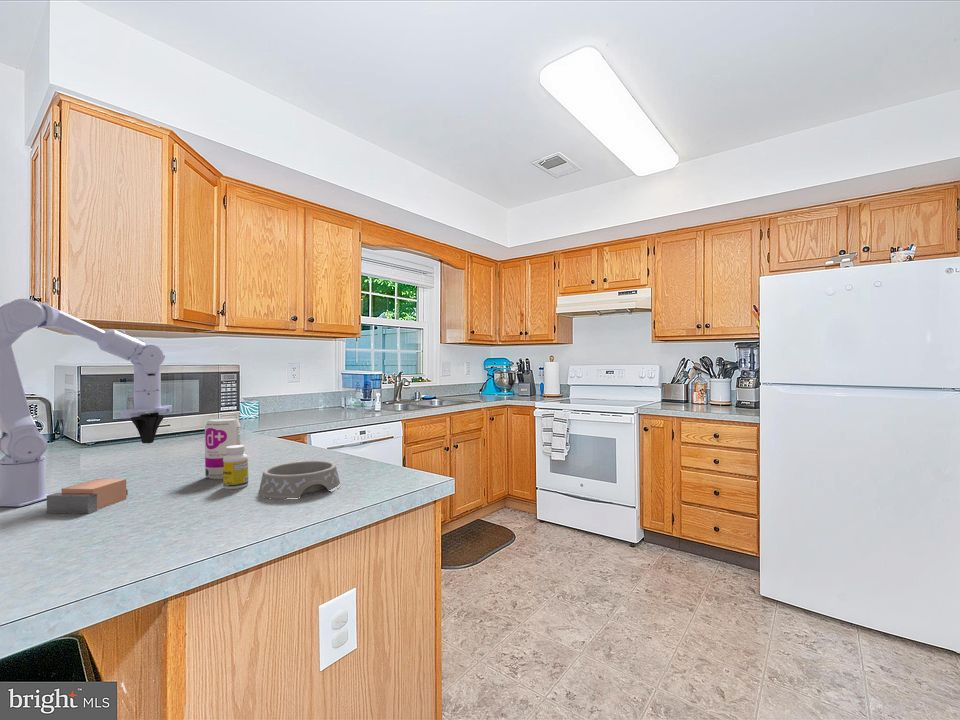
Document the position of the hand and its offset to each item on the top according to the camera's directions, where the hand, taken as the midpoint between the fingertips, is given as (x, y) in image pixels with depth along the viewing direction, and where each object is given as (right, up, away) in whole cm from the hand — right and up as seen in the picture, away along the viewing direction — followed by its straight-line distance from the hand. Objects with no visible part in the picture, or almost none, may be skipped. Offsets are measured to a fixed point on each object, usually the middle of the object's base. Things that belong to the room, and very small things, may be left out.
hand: (147, 442), depth 119 cm
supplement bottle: (+27, -9, -8) cm, 30 cm away
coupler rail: (+4, -9, -21) cm, 23 cm away
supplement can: (+18, -9, +2) cm, 21 cm away
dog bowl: (+44, -9, -11) cm, 46 cm away
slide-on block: (+4, -9, -21) cm, 24 cm away
